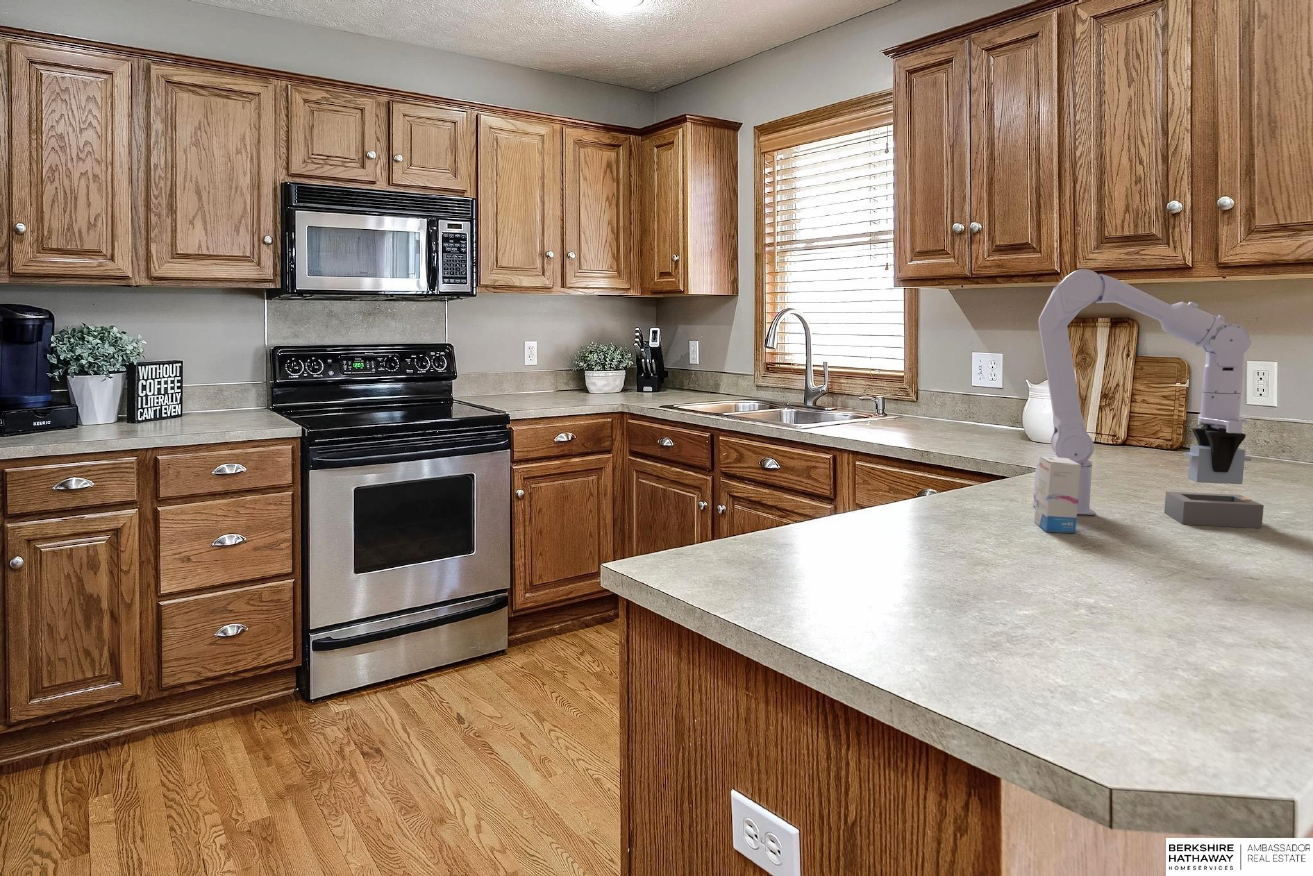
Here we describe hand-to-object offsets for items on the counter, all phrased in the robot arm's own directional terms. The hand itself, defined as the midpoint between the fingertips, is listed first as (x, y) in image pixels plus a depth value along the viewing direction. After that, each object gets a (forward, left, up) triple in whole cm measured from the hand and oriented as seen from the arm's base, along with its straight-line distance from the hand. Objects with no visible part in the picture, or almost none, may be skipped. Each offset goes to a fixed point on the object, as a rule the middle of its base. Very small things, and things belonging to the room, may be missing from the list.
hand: (1215, 469), depth 149 cm
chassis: (0, 0, -9) cm, 9 cm away
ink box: (-28, -14, -9) cm, 33 cm away
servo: (0, 0, -2) cm, 2 cm away
